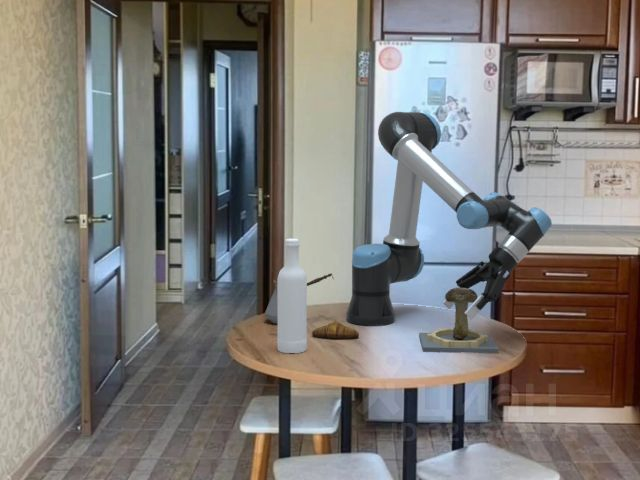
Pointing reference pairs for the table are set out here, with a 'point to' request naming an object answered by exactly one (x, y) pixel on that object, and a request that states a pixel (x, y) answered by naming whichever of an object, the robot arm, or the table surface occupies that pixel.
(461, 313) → the mushroom
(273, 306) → the coffee pot
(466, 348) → the gear board
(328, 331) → the croissant
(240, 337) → the table surface
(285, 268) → the bottle
